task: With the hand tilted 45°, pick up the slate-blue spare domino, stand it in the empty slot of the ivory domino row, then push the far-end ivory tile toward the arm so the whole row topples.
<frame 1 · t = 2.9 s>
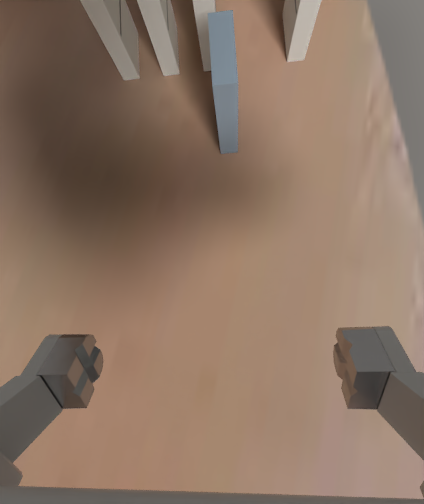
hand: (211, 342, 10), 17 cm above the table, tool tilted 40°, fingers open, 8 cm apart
spare domino: (227, 127, 29), on the table
domino 3: (210, 47, 31), on the table
domino 5: (131, 56, 31), on the table
domino 4: (170, 51, 31), on the table
domino 1: (293, 37, 30), on the table
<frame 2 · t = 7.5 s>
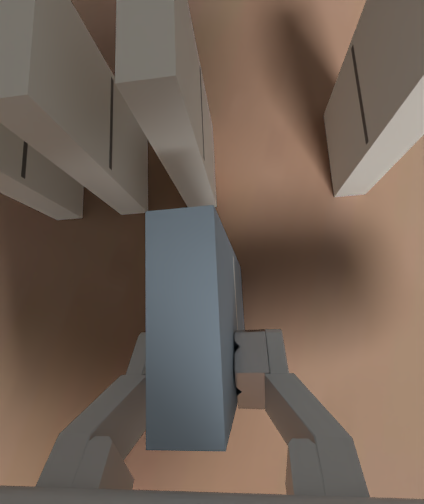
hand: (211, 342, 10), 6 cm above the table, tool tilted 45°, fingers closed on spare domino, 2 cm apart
spare domino: (228, 315, 16), on the table, touching gripper
domino 3: (201, 167, 18), on the table
domino 5: (71, 179, 19), on the table
domino 4: (134, 173, 19), on the table
domino 1: (343, 153, 17), on the table
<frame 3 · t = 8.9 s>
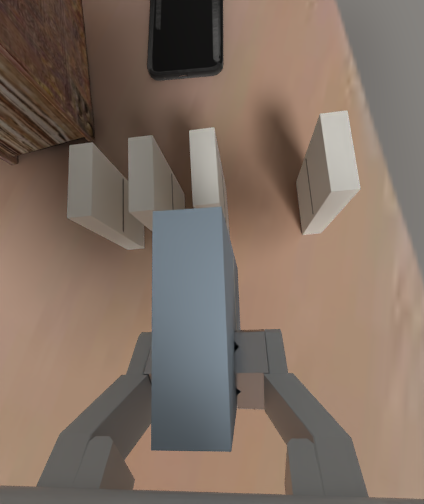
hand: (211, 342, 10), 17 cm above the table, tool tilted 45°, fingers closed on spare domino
spare domino: (224, 315, 16), point 11 cm above the table, touching gripper
phone: (187, 22, 34), on the table
domino 3: (219, 215, 29), on the table
domino 5: (135, 223, 30), on the table
domino 4: (177, 219, 29), on the table
book: (49, 57, 35), on the table, touching arm
domino 1: (308, 207, 28), on the table
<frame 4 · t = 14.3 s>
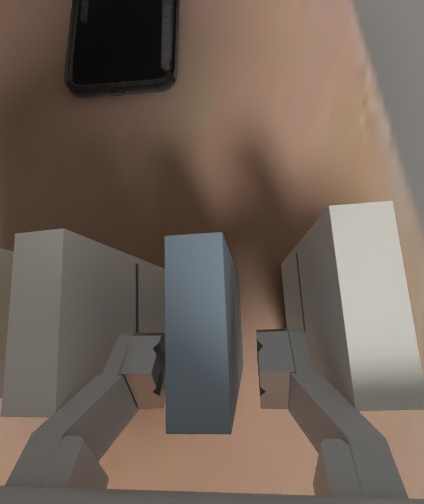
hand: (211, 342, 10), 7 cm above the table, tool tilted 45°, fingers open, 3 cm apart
spare domino: (226, 319, 18), on the table
phone: (129, 12, 23), on the table
domino 3: (159, 314, 18), on the table
domino 4: (95, 318, 19), on the table
domino 1: (299, 307, 17), on the table
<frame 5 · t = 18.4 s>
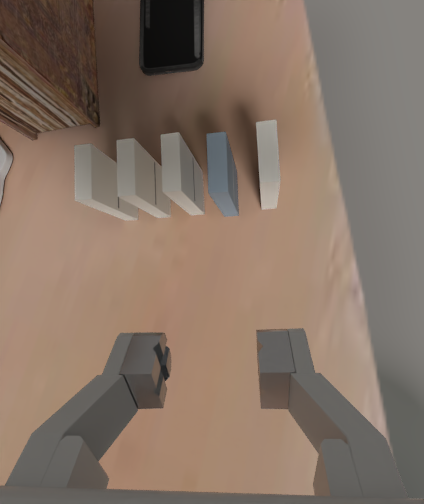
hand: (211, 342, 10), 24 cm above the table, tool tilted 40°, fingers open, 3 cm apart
spare domino: (230, 194, 35), on the table
phone: (173, 18, 39), on the table
domino 3: (196, 193, 36), on the table
domino 5: (131, 199, 37), on the table
domino 4: (163, 196, 36), on the table
book: (63, 43, 41), on the table
domino 1: (267, 186, 34), on the table
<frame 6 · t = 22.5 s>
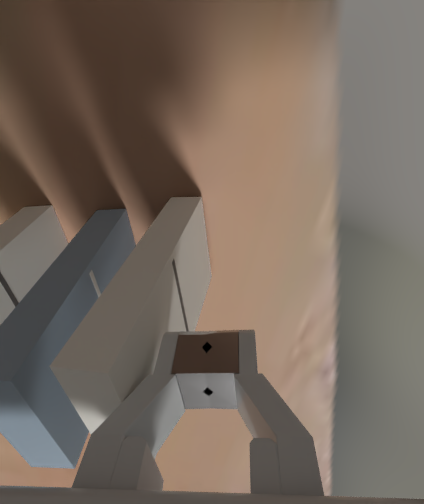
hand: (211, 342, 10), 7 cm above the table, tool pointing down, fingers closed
spare domino: (122, 249, 18), on the table
domino 3: (55, 245, 18), on the table
domino 1: (192, 239, 17), on the table, tilted 7°
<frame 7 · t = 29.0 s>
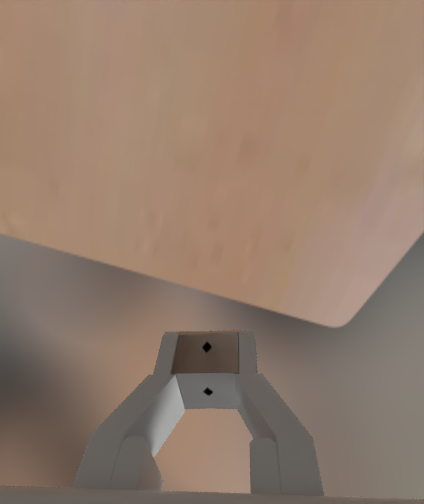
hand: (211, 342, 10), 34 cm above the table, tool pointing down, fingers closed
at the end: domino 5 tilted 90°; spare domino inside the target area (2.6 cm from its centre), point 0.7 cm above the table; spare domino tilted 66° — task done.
